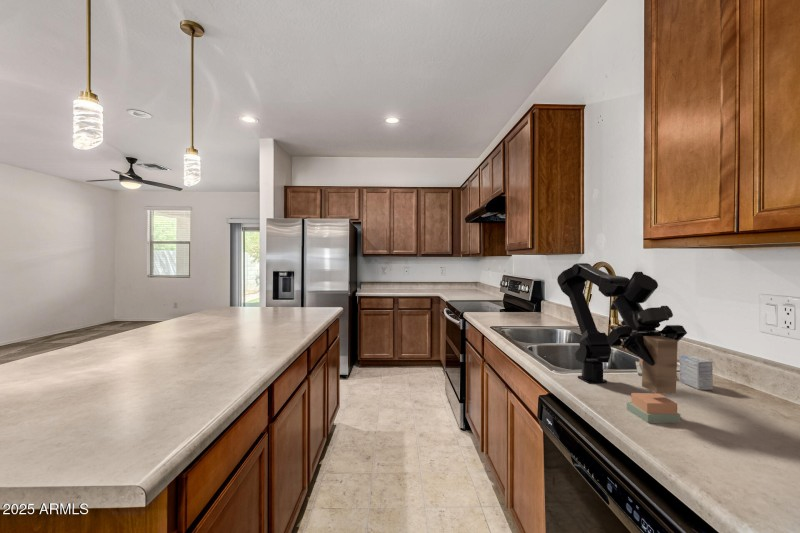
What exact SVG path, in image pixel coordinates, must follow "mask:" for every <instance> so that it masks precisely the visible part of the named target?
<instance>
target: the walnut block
mask: <svg viewBox="0 0 800 533" xmlns="http://www.w3.org/2000/svg"><path fill="white" fill-rule="evenodd" d="M643 339H644V344H645V346H646V348H647V349H648V351H649V353H650V355H651V356H652V358H653V361H654V363H655V364H654V365H653V366H651V365H649V364H648V363H647V362H645V361H644V360H643V366H642V376H641V387H642V388H645V389H647V390H649V391H651V392H654V393H657V394H677V373H678V371H677V369H678V368H677V367H678V366H677V365H678V342H679V341H678V340H674V339H671V338H667V337H663V336H643Z"/></svg>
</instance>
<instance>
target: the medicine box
mask: <svg viewBox="0 0 800 533" xmlns="http://www.w3.org/2000/svg"><path fill="white" fill-rule="evenodd" d="M713 378H714V376H713V361H712V360H708V359H706V358H705V359H704V358H702V357H699V356H695V355H692V354H691V355H688V354H686V355H680V356H679V382H680V383H681V384H684V385H687V386H690V387H692V388H694V389H695V390H696V389H697V390H698V391H712V390H714V380H713Z"/></svg>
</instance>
